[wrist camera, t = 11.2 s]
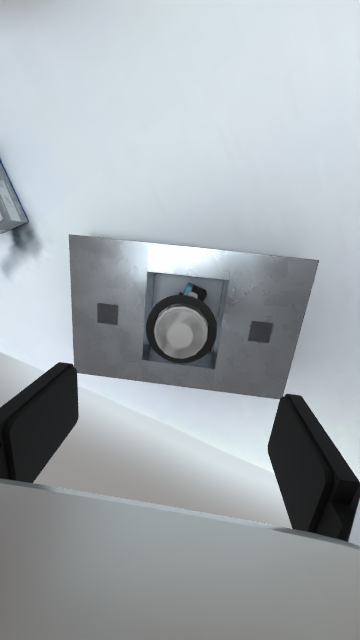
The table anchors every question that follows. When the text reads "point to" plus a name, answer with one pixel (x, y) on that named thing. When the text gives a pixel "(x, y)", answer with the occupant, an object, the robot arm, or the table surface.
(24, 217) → the label tape box
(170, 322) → the push button
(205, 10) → the table surface
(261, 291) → the gray pocketed block
